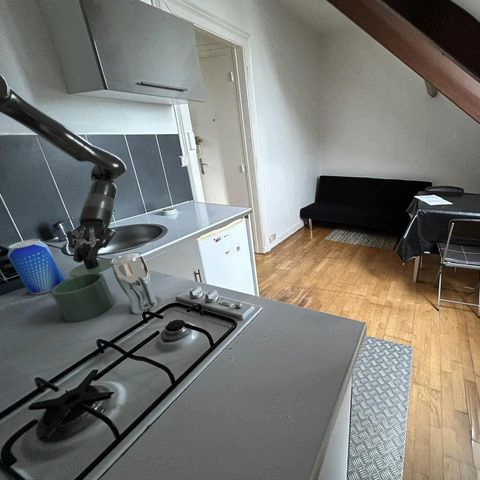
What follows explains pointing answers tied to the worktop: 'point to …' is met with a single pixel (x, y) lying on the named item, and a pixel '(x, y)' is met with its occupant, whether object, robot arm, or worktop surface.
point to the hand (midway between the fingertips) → (84, 260)
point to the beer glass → (135, 281)
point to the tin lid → (89, 263)
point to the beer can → (35, 266)
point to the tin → (83, 297)
